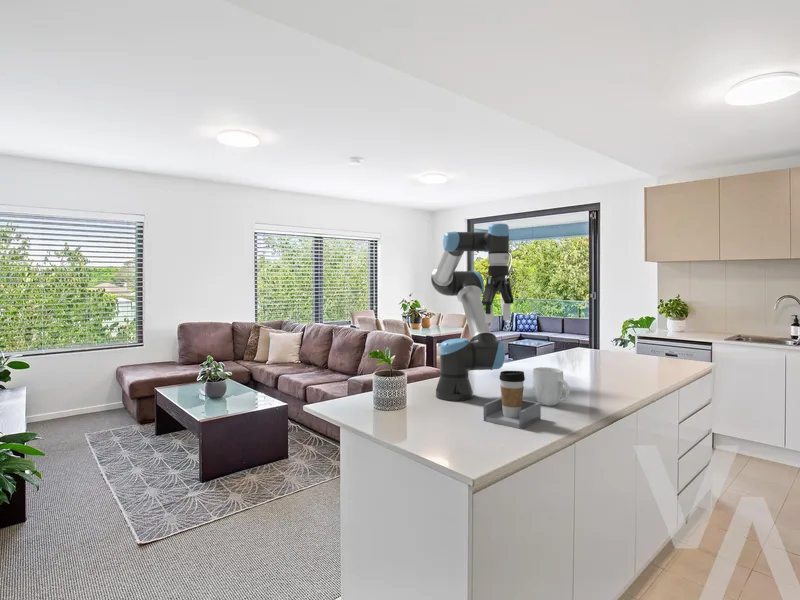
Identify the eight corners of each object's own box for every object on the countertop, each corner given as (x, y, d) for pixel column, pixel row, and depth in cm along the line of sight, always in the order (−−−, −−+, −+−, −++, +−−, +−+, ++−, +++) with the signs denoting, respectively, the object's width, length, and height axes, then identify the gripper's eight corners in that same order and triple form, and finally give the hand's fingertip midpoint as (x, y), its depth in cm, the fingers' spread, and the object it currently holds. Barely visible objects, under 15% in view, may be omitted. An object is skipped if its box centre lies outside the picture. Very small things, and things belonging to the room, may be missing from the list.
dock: (483, 420, 155) (483, 404, 155) (503, 411, 166) (503, 396, 165) (522, 429, 146) (522, 412, 146) (540, 418, 156) (540, 403, 156)
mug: (577, 406, 171) (578, 372, 170) (559, 411, 165) (559, 375, 164) (545, 398, 183) (545, 366, 183) (526, 402, 177) (526, 369, 177)
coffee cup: (520, 420, 150) (520, 375, 149) (495, 416, 154) (495, 372, 154) (527, 414, 157) (528, 370, 156) (504, 410, 161) (504, 368, 161)
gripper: (490, 264, 161) (490, 324, 161) (522, 265, 180) (522, 319, 180) (472, 264, 165) (472, 323, 166) (505, 266, 184) (504, 318, 185)
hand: (498, 321), depth 173 cm, fingers open, 13 cm apart
